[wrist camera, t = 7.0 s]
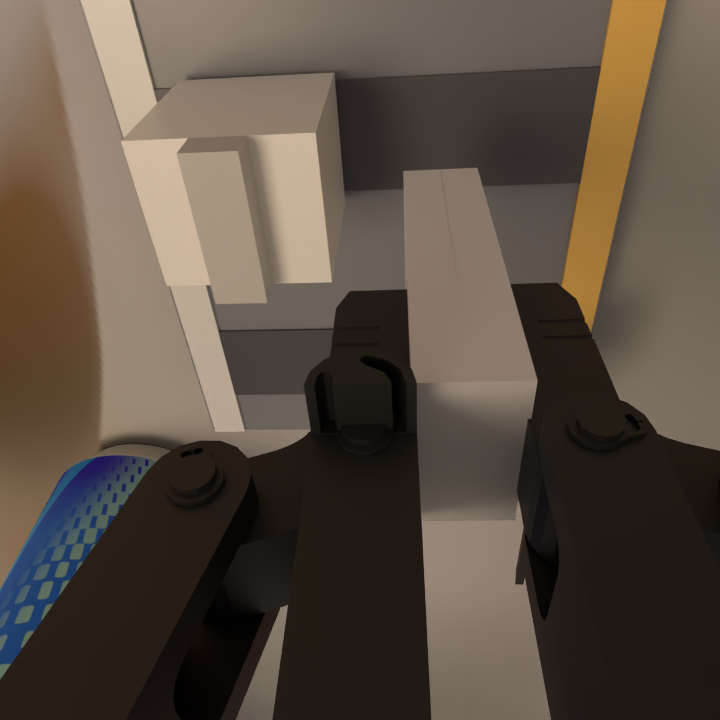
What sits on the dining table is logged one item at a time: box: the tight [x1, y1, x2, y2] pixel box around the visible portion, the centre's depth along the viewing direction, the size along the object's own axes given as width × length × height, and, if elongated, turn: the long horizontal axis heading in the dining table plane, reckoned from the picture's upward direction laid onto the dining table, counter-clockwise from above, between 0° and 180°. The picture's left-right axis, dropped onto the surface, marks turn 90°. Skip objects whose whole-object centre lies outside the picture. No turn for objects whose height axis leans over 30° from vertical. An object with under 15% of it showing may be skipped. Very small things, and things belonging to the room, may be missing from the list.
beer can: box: [0, 444, 171, 679], centre depth 25 cm, size 8×8×16 cm
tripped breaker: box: [121, 72, 345, 304], centre depth 15 cm, size 4×4×5 cm
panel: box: [79, 0, 669, 517], centre depth 15 cm, size 14×23×7 cm, turn 4°
